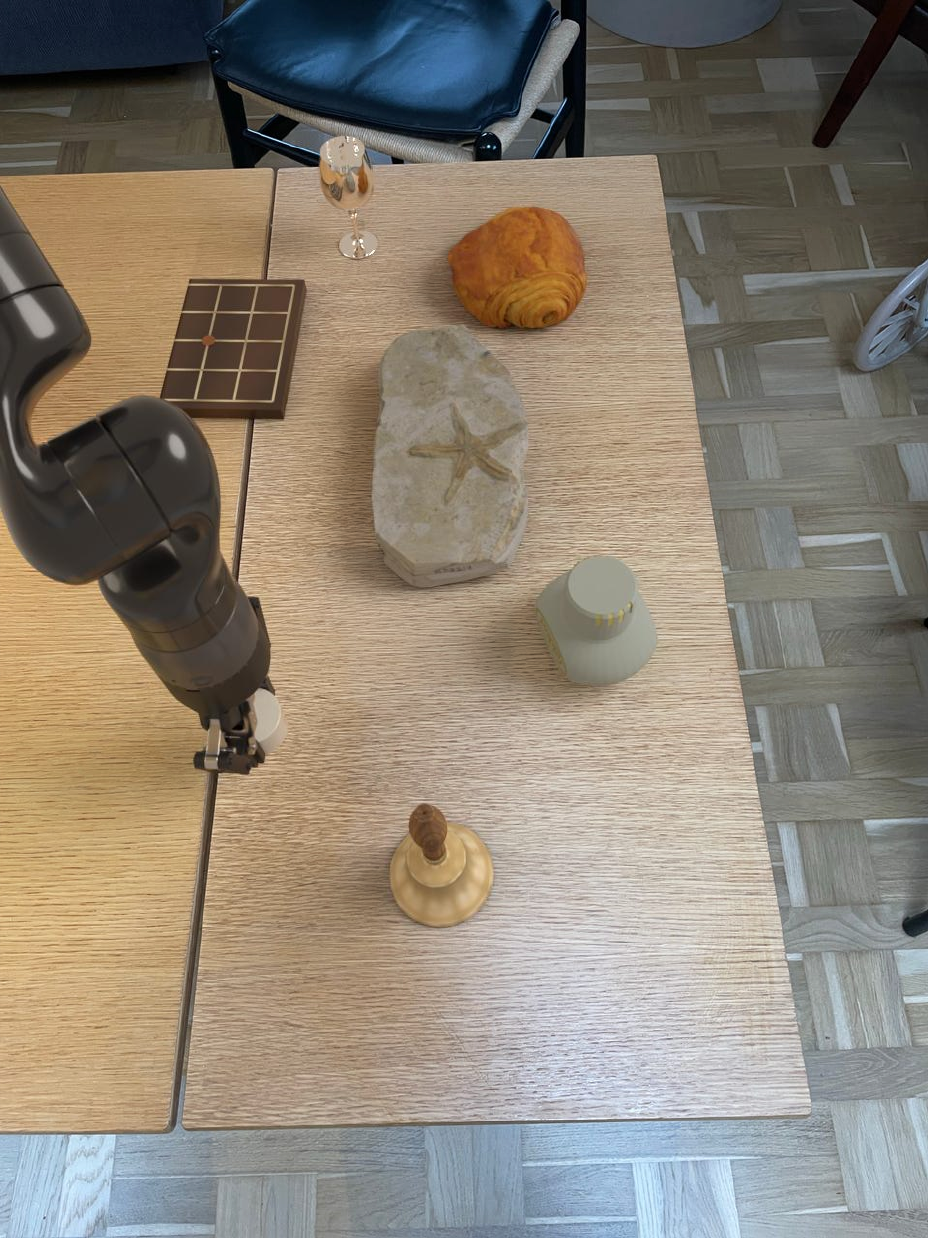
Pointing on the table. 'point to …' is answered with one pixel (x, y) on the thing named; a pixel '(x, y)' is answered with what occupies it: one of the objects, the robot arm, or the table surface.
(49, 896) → the table surface
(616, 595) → the air freshener
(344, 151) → the wineglass
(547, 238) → the croissant
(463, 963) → the table surface
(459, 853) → the hand bell
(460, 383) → the fossil stone
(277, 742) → the white short cylinder
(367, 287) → the table surface
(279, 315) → the grid board
